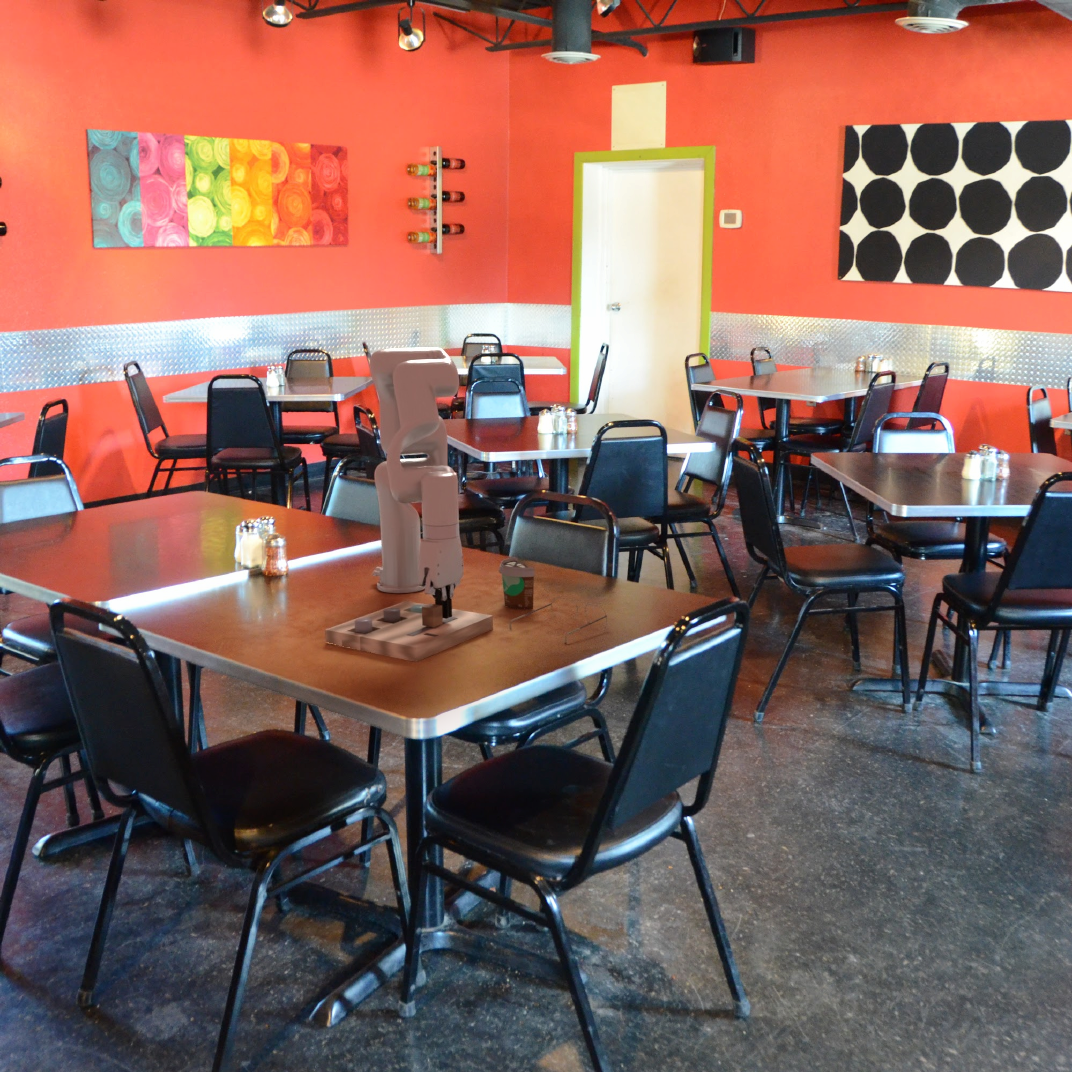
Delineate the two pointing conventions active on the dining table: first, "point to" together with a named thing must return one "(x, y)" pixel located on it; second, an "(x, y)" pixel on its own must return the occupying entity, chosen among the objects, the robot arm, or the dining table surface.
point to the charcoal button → (391, 615)
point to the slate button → (363, 625)
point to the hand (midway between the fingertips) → (443, 616)
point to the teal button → (417, 608)
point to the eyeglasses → (572, 618)
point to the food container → (517, 584)
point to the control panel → (410, 633)
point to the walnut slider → (432, 615)
